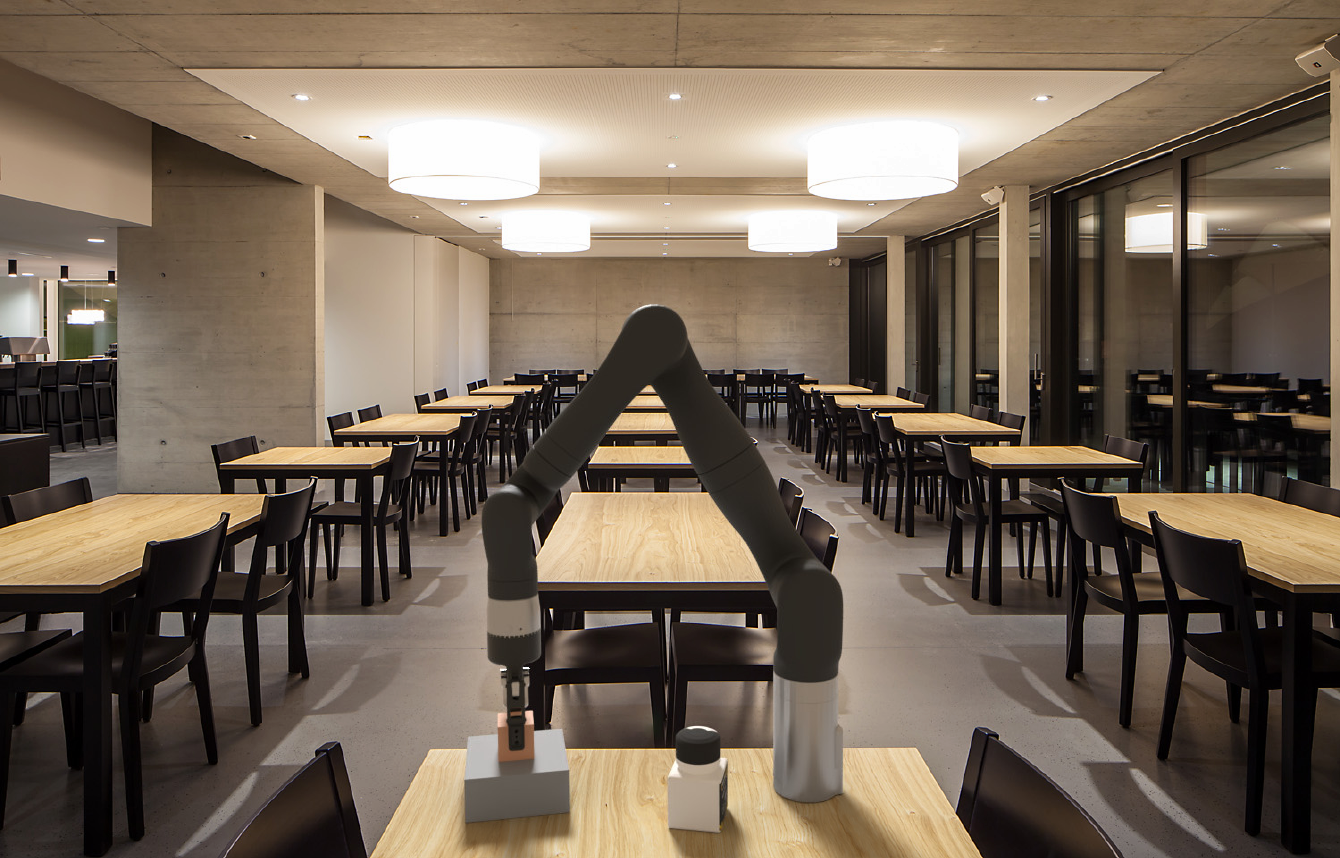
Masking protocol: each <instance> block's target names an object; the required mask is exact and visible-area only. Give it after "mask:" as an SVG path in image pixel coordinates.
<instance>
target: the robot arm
mask: <svg viewBox="0 0 1340 858" xmlns="http://www.w3.org/2000/svg"><path fill="white" fill-rule="evenodd" d="M648 385H650V386H651V387H652V389H653V391H655V393H656V395H657V396H658V397H659V398H660V401H661V402H662V404H663V405H664V407H665V409H666V410H667V413H668V414H669V417H670V419H671V422H672V424H673V427H674V429H675V432H676V434H677V436H678V439H679V441H680V443H681V445H682V447H683V450H684V452H685V454H686V456H687V458H688V460H689V462H690V464H691V466H692V469H694V471H695V473H696V474H697V476H698V478H699V480H700V482H701V483H702V485H703V487H704V488H705V490H706V492H707V493H708V496H710V498H711V500H712V501H713V502H714V504H715V505H716V507H717V509H718V510H719V512H721V514H722V515H723V516H724V518H725V519H726V520H727V521H728V523H729V524H730V525H731V527H732V528H734V530H735V531H736V533H737V534H738V535H739V537H741V539H742V540H743V541H744V542H745V544H746V546H747V547H748V549H749V551H750V553H751V555H752V557H753V558H754V560H755V563H756V564H757V567H758V569H759V571H760V573H761V576H762V577H763V580H764V582H765V584H766V586H767V589H768V592H769V593H770V596H771V599H772V601H773V603H774V605H775V607H776V609H777V611H776V612H777V615H776V616H777V618H776V619H777V622H776V624H777V626H776V627H777V628H776V630H777V632H776V648H775V650H774V652H773V656H772V657H773V659H772V661H773V664H772V666H773V672H772V673H773V675H772V676H773V677H772V680H773V684H772V685H773V686H772V687H773V688H772V689H773V695H772V696H773V697H772V699H773V700H772V701H773V704H772V705H773V707H772V709H773V717H772V718H773V720H772V721H773V723H772V724H773V725H772V726H773V729H772V732H773V733H772V736H773V738H772V740H773V741H772V742H773V744H772V745H773V748H772V749H773V750H772V751H773V752H772V755H773V756H772V757H773V758H772V759H773V762H772V763H773V765H772V766H773V767H772V776H773V777H772V779H773V780H772V782H773V789H774V791H776V793H777V794H779V795H780V796H781V797H783V798H786V799H788V800H791V801H794V802H801V803H819V802H823V801H827V800H829V799H831V798H833V797H834V796H836V795H843V794H844V729H843V727H842V726H841V725H840V724H839V663H840V660H841V657H842V653H843V640H844V639H843V637H844V633H843V632H844V598H843V597H844V594H843V590H842V586H841V584H840V582H839V580H838V579H837V577H836V576H835V575H834V574H833V573H832V572H831V571H830V570H829V569H828V568H827V566H825V565H824V563H822V562H821V560H819V559H818V558H817V557H816V555H815V554H814V552H813V551H812V550H811V548H810V547H809V546H808V545H807V543H806V541H805V540H804V538H803V537H802V536H801V535H800V533H799V532H798V530H797V529H796V527H795V525H794V523H793V522H792V521H791V519H790V517H789V514H788V512H787V510H786V508H785V505H784V501H783V500H782V496H781V494H780V492H779V489H778V485H777V484H776V481H775V479H774V477H773V475H772V472H771V470H770V469H769V467H768V465H767V463H766V461H765V458H764V457H763V456H762V454H761V453H760V450H759V449H758V448H757V446H756V444H755V442H754V441H753V439H752V437H751V435H750V434H749V433H748V431H747V430H746V428H745V426H744V425H743V424H742V423H741V421H740V420H739V418H738V417H737V416H736V414H735V413H734V411H733V410H732V409H731V408H730V406H729V405H728V404H727V403H726V402H725V401H724V399H723V398H722V396H721V395H720V394H719V393H718V392H717V391H716V389H715V388H714V386H713V385H712V384H711V382H710V381H709V379H708V377H707V375H706V374H705V371H704V370H703V368H702V366H701V364H700V361H699V360H698V357H697V356H696V353H695V351H694V349H693V347H692V344H691V342H690V340H689V337H688V331H687V327H686V324H685V322H684V320H683V318H682V317H681V315H679V313H678V312H676V311H675V310H674V309H672V308H670V307H669V306H666V305H662V304H654V303H652V304H651V303H650V304H647V305H643V306H641V307H638V308H636V309H635V310H633V311H632V312H631V313H630V314H629V315H628V316H627V317H626V320H625V321H624V323H623V325H622V327H621V331H620V333H619V334H618V336H617V338H616V340H615V341H614V343H613V345H612V347H611V349H610V350H609V352H608V353H607V356H606V357H605V358H604V360H603V362H602V363H601V364H600V365H599V368H598V369H597V370H596V372H595V373H594V374H593V376H592V377H591V378H590V379H589V381H588V382H587V383H586V384H585V385H584V387H583V388H582V389H581V390H580V391H579V392H578V393H577V394H576V395H575V397H573V399H572V400H571V401H570V402H569V403H568V404H567V405H566V406H565V407H564V409H562V410H561V412H560V413H558V415H557V416H556V417H555V418H554V419H553V421H552V422H551V423H550V424H549V425H548V427H547V428H546V429H545V430H544V431H543V432H542V434H541V435H540V436H539V437H538V439H537V440H536V441H535V442H534V444H533V445H532V446H531V447H530V449H529V450H528V451H527V453H526V455H525V456H524V458H523V462H522V463H521V464H520V465H519V466H518V467H517V469H516V470H515V471H513V473H512V474H511V475H510V476H509V478H508V479H507V480H506V481H505V482H504V483H502V484H503V485H501V487H499V489H497V490H496V491H494V492H493V493H491V494H490V495H489V496H488V497H487V498H486V500H485V502H484V504H483V506H482V510H481V534H482V540H483V546H484V547H483V548H484V552H485V557H486V558H485V559H486V561H487V571H486V572H487V574H486V577H487V578H486V579H487V604H486V645H487V647H486V648H487V651H486V652H487V660H488V661H489V662H490V663H491V664H493V665H496V666H504V667H506V668H500V687H501V689H502V706H503V708H504V709H505V710H506V713H507V719H506V723H507V726H508V739H509V750H510V751H518V750H523V749H524V748H525V729H524V724H525V721H526V717H525V711H526V708H527V707H528V706H529V687H530V673H529V671H530V670H529V669H530V668H529V667H524V666H525V665H527V664H531V663H533V662H535V661H536V662H537V660H538V659H540V657H541V656H542V641H541V640H542V635H541V634H542V633H541V630H542V628H541V605H540V599H539V581H538V580H539V577H538V576H539V575H538V574H539V573H538V565H537V564H538V563H537V559H536V557H535V556H534V555H533V525H534V524H535V522H536V521H537V520H538V519H539V517H540V516H541V514H542V513H544V511H545V509H546V508H547V507H548V506H549V505H550V503H551V502H552V500H553V499H554V497H555V496H556V494H557V493H558V492H559V491H560V489H561V488H563V487H564V486H565V485H566V484H567V483H568V482H569V481H570V480H571V479H572V477H573V476H575V474H576V473H577V471H578V470H579V469H581V467H582V466H583V465H584V463H585V462H586V461H587V459H588V458H589V457H590V456H591V454H592V453H593V452H594V451H595V449H596V448H597V447H598V445H599V444H600V443H601V442H602V440H603V439H604V437H605V436H606V435H607V433H608V432H609V430H610V429H611V428H612V426H613V425H614V423H615V422H616V421H617V420H618V418H619V417H620V416H621V414H622V413H623V411H625V409H626V408H628V406H629V405H630V404H631V403H632V401H634V400H635V398H636V397H637V396H638V395H639V394H640V393H642V391H643V390H645V388H647V387H648ZM511 712H521V714H522V716H521V715H514V716H511Z"/></svg>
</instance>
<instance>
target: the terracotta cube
mask: <svg viewBox="0 0 1340 858" xmlns="http://www.w3.org/2000/svg"><path fill="white" fill-rule="evenodd" d="M514 715H521V716H522V714H521V712H511V716H514ZM525 717H526V721H525V724H524V729H525V748H524V749H523V750H518V751H510V750H509V739H508V726H507V723H506V719H507V712H499V713H497V734H498V762H504V761H514V760H525V759H535V756H534V731H535V723H534V711H533V710H525Z"/></svg>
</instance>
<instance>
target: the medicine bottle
mask: <svg viewBox="0 0 1340 858" xmlns="http://www.w3.org/2000/svg"><path fill="white" fill-rule="evenodd" d="M721 756H722V755H721V735H720V733H719V732H718V731H717V730H715V729H713V728H710V727H708V726H702V725H694V726H693V725H692V726H688V727H686V728H685V727H684V728H683V729H681V730H679V731H678V732H677V733H676V735H675V760H674V762H673V764H672V767H671V769H670V772H669V773H668V776H667V827H668V828H669V829H676V830H686V831H697V832H703V833H704V832H705V833H715V834H720V833H721V831H722V829H723V826H724V825H723V824H724V822H725V818H726V814H727V811H728V806H729V804H728V802H729V799H728V798H729V797H728V796H729V793H728V792H729V790H728V789H729V788H728V787H729V785H728V784H729V783H728V782H729V778H728V775H729V773H728V772H729V771H728V769H729V768H728V767H729V766H728V765H729V764H728V763H729V761H728V759H727V758H726V757H721Z"/></svg>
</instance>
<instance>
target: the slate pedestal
mask: <svg viewBox="0 0 1340 858" xmlns="http://www.w3.org/2000/svg"><path fill="white" fill-rule="evenodd" d="M563 731H564V730H563V728H556V729H555V728H554V729H543V730H534V756H535V759H525V760H514V761H504V762H498V733H495V734H485V735H483V734H482V735H473V736H472V735H471V736H467V744H466V745H467V746H466V757H465V769H464V778H463V781H464V783H463V784H464V815H465V816H464V821H465V824H470V823H478V822H489V821H497V820H507V819H508V820H509V819H517V818H526V817H529V818H530V817H538V816H546V815H556V814H567V813H571V809H570V808H571V806H570V805H571V804H570V803H571V802H570V798H571V797H570V796H571V795H570V768H569V761H568V756H567V755H568V754H567V750H566V744H565V737H564V733H563Z"/></svg>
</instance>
